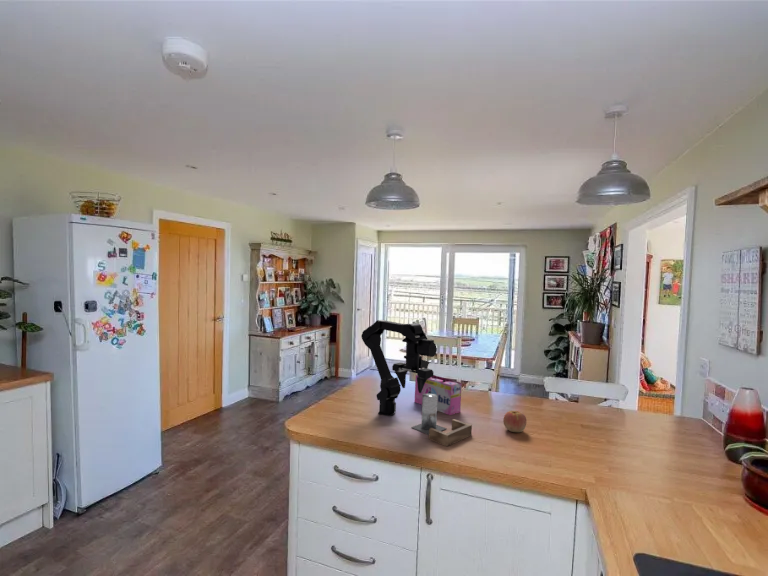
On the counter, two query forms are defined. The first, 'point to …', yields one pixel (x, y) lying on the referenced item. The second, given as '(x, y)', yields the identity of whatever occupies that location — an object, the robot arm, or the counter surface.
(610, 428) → the counter surface
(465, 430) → the walnut rack
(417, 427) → the rubber mat
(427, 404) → the steel tin
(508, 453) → the counter surface
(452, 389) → the gum box
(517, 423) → the apple
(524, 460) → the counter surface
